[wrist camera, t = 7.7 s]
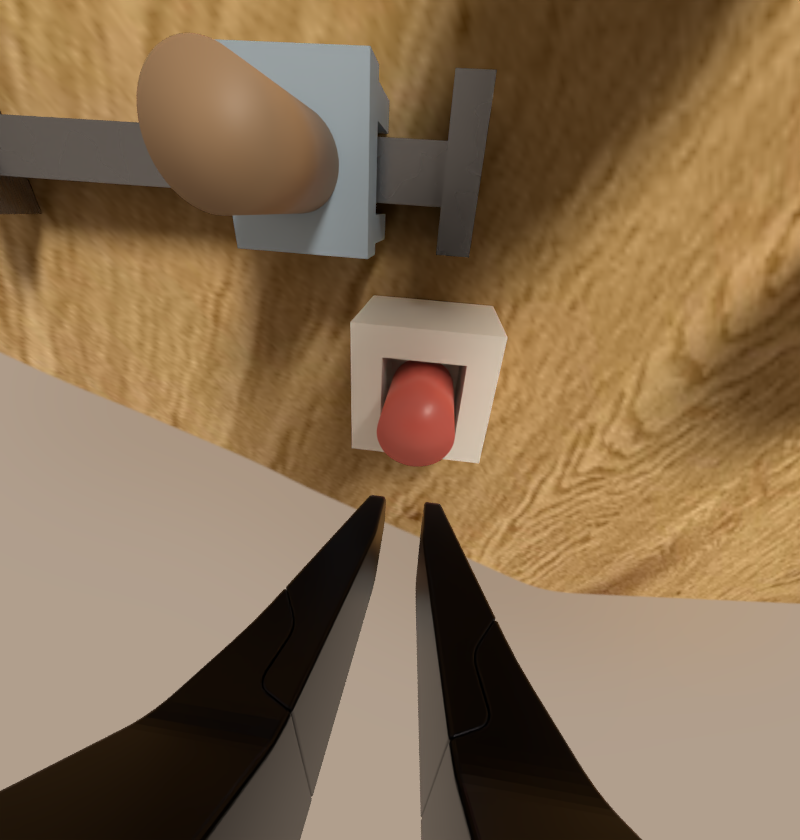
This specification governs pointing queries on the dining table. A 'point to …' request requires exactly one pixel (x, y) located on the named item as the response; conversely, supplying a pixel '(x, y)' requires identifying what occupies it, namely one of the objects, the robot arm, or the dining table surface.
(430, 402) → the button
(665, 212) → the dining table surface
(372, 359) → the socket block
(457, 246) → the rail
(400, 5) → the dining table surface
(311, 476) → the dining table surface
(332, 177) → the carriage
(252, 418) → the dining table surface
